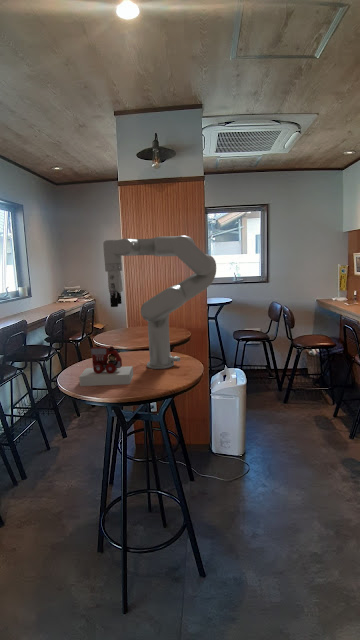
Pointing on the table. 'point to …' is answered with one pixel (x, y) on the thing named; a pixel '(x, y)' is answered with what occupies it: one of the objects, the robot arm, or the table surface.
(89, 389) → the table surface
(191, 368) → the table surface
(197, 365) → the table surface
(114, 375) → the block
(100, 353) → the toy fire truck
